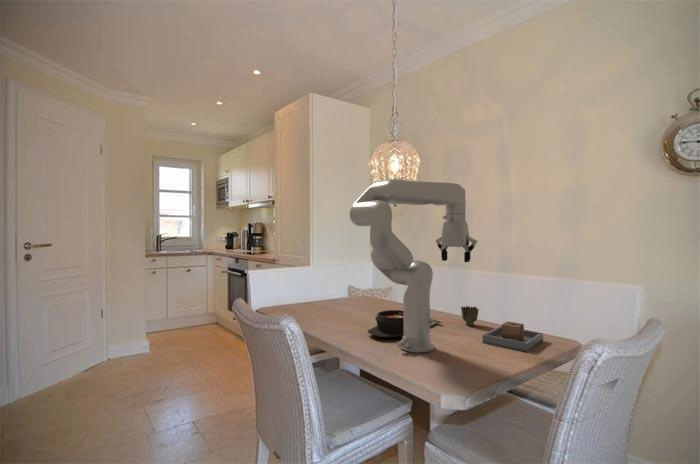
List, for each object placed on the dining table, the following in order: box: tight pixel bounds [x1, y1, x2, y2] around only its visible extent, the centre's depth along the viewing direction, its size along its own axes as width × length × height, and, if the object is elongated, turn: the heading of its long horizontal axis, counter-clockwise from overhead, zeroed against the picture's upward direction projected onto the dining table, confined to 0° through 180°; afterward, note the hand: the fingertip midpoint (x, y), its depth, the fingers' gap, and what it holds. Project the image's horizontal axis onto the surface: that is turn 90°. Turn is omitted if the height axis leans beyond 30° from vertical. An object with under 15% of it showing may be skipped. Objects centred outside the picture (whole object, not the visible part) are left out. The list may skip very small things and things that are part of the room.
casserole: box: [367, 309, 403, 339], centre depth 150 cm, size 25×19×8 cm
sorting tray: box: [481, 325, 544, 353], centre depth 139 cm, size 18×16×3 cm
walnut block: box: [501, 320, 525, 342], centre depth 139 cm, size 6×6×6 cm
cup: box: [460, 305, 479, 327], centre depth 163 cm, size 8×7×8 cm
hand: (455, 261), depth 145 cm, fingers open, 9 cm apart
